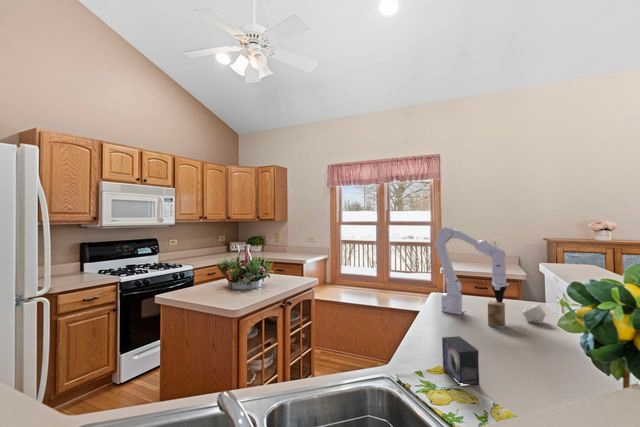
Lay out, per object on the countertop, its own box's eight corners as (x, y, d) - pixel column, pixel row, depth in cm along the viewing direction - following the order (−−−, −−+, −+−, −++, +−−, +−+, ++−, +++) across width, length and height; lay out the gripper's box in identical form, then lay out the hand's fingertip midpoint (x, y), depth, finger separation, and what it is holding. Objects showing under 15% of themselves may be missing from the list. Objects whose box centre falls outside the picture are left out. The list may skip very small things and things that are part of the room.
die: (543, 321, 138) (528, 302, 143) (554, 318, 130) (538, 298, 135) (528, 328, 137) (514, 309, 142) (538, 325, 129) (523, 305, 134)
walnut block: (488, 325, 132) (487, 303, 132) (489, 322, 136) (489, 300, 136) (503, 328, 128) (503, 305, 129) (505, 325, 132) (504, 303, 132)
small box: (441, 368, 96) (440, 336, 96) (460, 367, 97) (459, 335, 97) (459, 387, 85) (458, 351, 86) (480, 385, 86) (479, 350, 86)
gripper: (506, 277, 133) (507, 307, 132) (510, 272, 144) (511, 299, 144) (489, 275, 137) (489, 304, 137) (493, 270, 148) (494, 297, 148)
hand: (499, 302), depth 141 cm, fingers closed
